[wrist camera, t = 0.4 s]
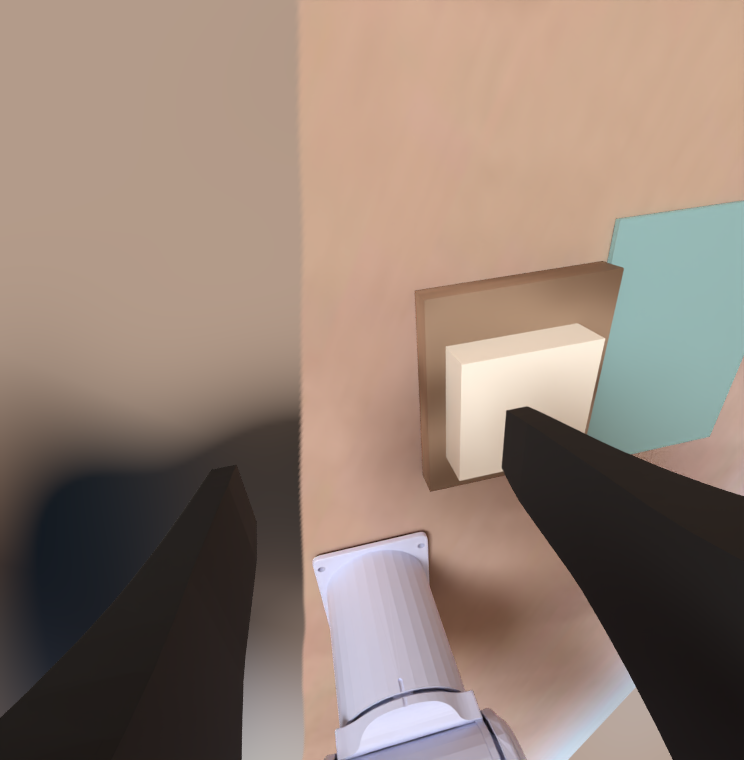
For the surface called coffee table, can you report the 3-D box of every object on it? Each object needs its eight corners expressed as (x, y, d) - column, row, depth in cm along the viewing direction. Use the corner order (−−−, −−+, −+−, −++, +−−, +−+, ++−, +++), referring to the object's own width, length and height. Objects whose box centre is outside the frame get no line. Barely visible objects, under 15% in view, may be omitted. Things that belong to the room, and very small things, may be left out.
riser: (567, 443, 26) (581, 458, 25) (422, 474, 25) (430, 491, 24) (602, 261, 20) (624, 267, 19) (414, 290, 19) (424, 299, 18)
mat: (705, 434, 29) (709, 436, 28) (566, 465, 27) (569, 468, 27) (806, 191, 21) (812, 192, 20) (616, 218, 19) (620, 219, 19)
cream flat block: (558, 432, 23) (579, 454, 22) (446, 456, 23) (459, 481, 21) (577, 323, 20) (605, 338, 18) (445, 346, 19) (461, 364, 17)
